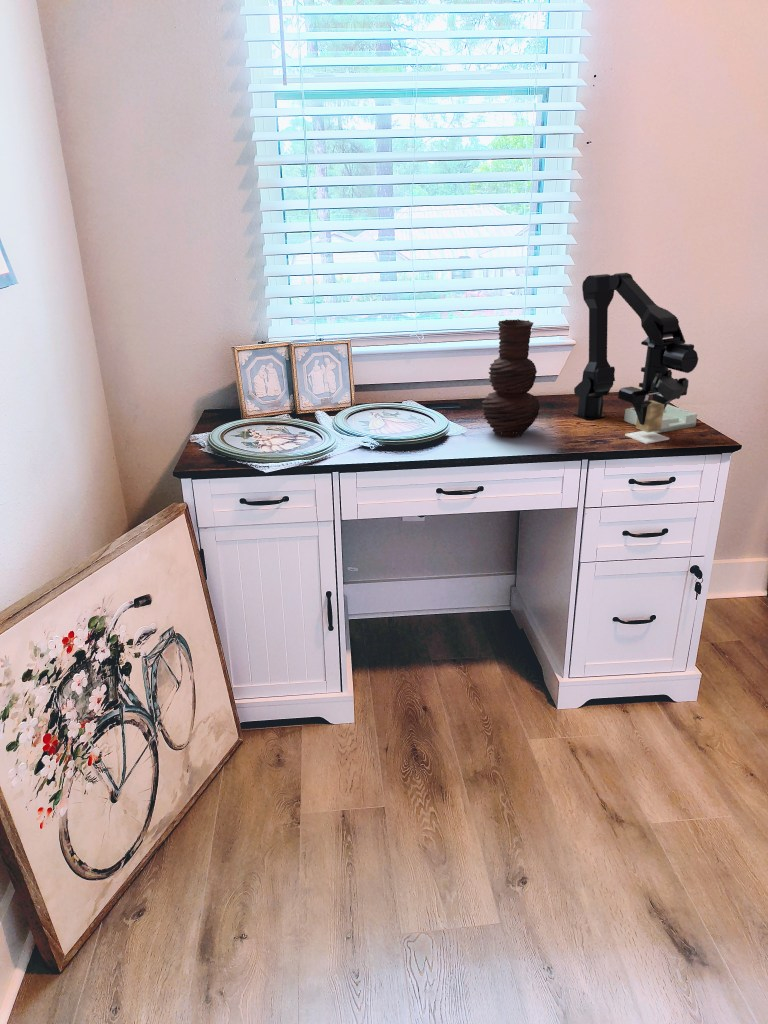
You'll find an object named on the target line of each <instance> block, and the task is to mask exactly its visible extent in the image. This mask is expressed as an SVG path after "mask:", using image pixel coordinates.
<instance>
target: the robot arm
mask: <svg viewBox="0 0 768 1024" xmlns="http://www.w3.org/2000/svg"><path fill="white" fill-rule="evenodd" d="M581 288H582V297H583V301H584V302H585V304H586V306H587V308H588V362H587V364H586V365H585V367H584V369H583V371H582V372H583V373H582V379H581V381H580V382H579V383H578V384H577V385H576V386H575V387H574V389H573V391H574V396H575V397H578V405H577V412H574V413H573V415H574V416H576V417H579V418H581V419H584V420H587V421H590V420H596V419H602V418H605V417H606V415H604V414H603V408H604V396H605V397H606V396H608V395H610V390H611V389H612V388H613V386H614V382H616V379H615V373H616V372H615V371H616V368H615V366H611V365H610V363H609V361H608V324H609V323H608V319H609V316H608V315H609V313H608V312H609V311H608V309H609V306H610V304H611V303H612V301H613V298H614V295H615V291H616V293H618V295H620V296H621V298H622V299H623V300H624V301H625V302H626V304H628V306H630V308H631V309H632V311H634V313H635V314H636V315H637V316H638V317H639V320H640V323H641V328H642V329H643V331H644V333H645V335H647V337H646V338H645V339H644V340H642V341H641V342H640V343H641V345H642V346H647V348H646V357H645V363H644V366H642V367H640V372H643V378H642V382H638V383H639V384H638V387H639V388H638V387H635V386H627V387H625V386H624V387H621V388H620V389H619V390H618V395H617V399H619V400H622V401H624V402H627V403H630V404H632V406H633V407H632V408H634V409H635V411H636V414H637V417H638V420H639V423H640V424H641V425H644V422H645V417H646V412H647V407H648V405H650V404H651V403H652V402H651V401H655V402H658V403H661V404H664V409H665V407H666V406H667V404H668V405H669V403H671V402H672V401H673V400H679V399H681V397H682V396H687V393H688V388H689V379H688V378H686V377H680V378H673V377H672V376H673V372H672V370H674V371H678V372H682V373H686V374H690V373H691V372H693V371H694V370H695V368H696V367H697V365H698V362H699V356H698V352H697V351H696V350H695V345H694V344H692V343H686V340H685V337H684V335H683V332H682V330H681V329H682V328H681V327H680V324H679V322H680V321H679V318H678V317H677V316H676V315H675V314H674V313H672V312H671V311H669V310H668V309H665V308H663V307H661V306H659V305H657V304H656V303H655V302H654V301H653V299H651V297H650V296H649V295H648V294H647V293H646V292H645V290H643V289H642V287H641V286H640V285H639V284H638V283H637V282H636V280H634V278H633V275H632V274H631V273H629V272H620V273H619V272H618V273H617V272H616V273H614V274H608V273H604V274H591V275H588V276H586V277H585V279H584V280H583V281H582V285H581ZM640 388H641V389H640ZM650 396H652V400H649V397H650Z"/></svg>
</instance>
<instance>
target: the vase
mask: <svg viewBox="0 0 768 1024" xmlns="http://www.w3.org/2000/svg"><path fill="white" fill-rule="evenodd" d="M497 325H498V327H499V328H498V330H499V333H498V336H499V337H498V339H499V340H500V341H499V342H498V344H499V346H498V349H499V350H498V353H499V355H498V356H499V357H497V359H494V361H493V363H491V364H489V366H490V367H488V370H490V371H487V372H488V374H489V379H490V380H489V383H490V384H491V385H490V386H491V387H492V390H493V392H490V393H488V395H487V396H485V397H484V400H482V401H481V403H482V409H481V411H482V413H483V414H482V415H483V416H484V420H486V423H487V424H488V425H489V427H490V428H492V431H493V432H494V435H495V436H497V437H500V438H507V439H514V438H519V437H521V438H522V437H523V435H524V434H525V433H526V431H527V430H529V428H530V427H531V426H532V425H533V423H534V422H535V421H536V419H537V418H538V416H539V411H540V407H541V406H540V404H539V402H540V401H539V399H538V398H537V397H536V396H535V395H534V394H532V393H529V392H530V391H531V389H532V388H533V387H534V385H535V384H534V383H535V381H536V378H537V376H536V375H537V372H538V370H537V367H536V365H535V363H534V362H533V360H531V359H529V358H528V357H529V353H530V352H529V351H530V345H529V344H530V341H531V335H532V331H531V330H532V327H533V326H534V322H531V321H530V320H528V319H527V320H523V319H505V320H498V324H497Z"/></svg>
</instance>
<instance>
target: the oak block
mask: <svg viewBox="0 0 768 1024" xmlns="http://www.w3.org/2000/svg"><path fill="white" fill-rule="evenodd" d="M650 401H651V402H652V403H651V404H650V405H648V407H647V412H646V417H645V422H644V425H641V424H640V423H639V420H638V417H637V422H636V425H635V429H638V430H639V431H645V432H654V431H659V430H661V425H662V418H663V411H664V404H661V403H658V402H655V401H653V400H650Z"/></svg>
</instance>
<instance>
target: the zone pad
mask: <svg viewBox="0 0 768 1024" xmlns="http://www.w3.org/2000/svg"><path fill="white" fill-rule="evenodd" d="M624 436H625V437H628V438H630V439H633V440H635V441H638V442H641V443H643V444H646V445H648V444H653V443H658V442H662V441H663V442H664V441H668V440H670V437H668V436H665V435H662V434H660V433H655V432H645V431H642V430H639V431H634V432H630V433H629V432H628V433H625V434H624Z"/></svg>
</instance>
